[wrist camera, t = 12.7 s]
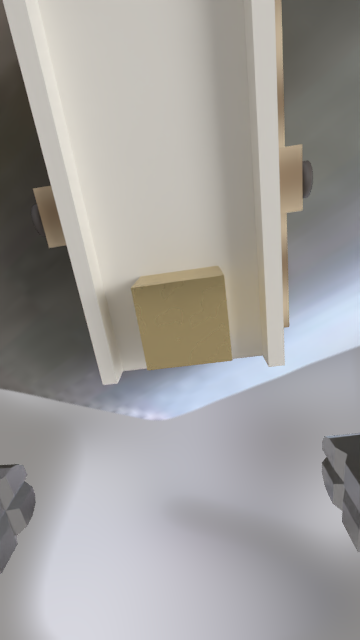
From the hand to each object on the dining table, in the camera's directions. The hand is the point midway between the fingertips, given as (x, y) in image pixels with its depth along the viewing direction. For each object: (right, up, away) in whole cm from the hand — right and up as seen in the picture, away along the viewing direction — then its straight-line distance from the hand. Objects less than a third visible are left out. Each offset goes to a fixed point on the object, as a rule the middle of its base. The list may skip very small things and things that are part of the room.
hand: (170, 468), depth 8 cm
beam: (-1, +13, +13) cm, 18 cm away
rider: (+1, +5, +15) cm, 16 cm away
